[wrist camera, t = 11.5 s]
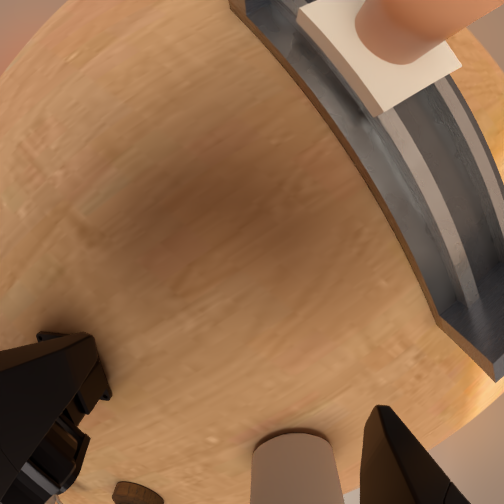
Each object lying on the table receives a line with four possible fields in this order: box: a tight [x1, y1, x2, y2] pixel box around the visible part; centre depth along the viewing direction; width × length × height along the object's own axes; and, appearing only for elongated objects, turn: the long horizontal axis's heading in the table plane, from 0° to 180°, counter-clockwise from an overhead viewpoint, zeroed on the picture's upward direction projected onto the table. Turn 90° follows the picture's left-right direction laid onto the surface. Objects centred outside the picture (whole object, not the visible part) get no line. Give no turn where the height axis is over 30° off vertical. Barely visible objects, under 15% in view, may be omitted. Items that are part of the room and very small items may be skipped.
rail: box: [229, 0, 504, 383], centre depth 13 cm, size 30×10×9 cm, turn 35°
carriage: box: [296, 0, 504, 118], centre depth 9 cm, size 7×7×9 cm
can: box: [250, 433, 344, 504], centre depth 18 cm, size 8×8×12 cm
